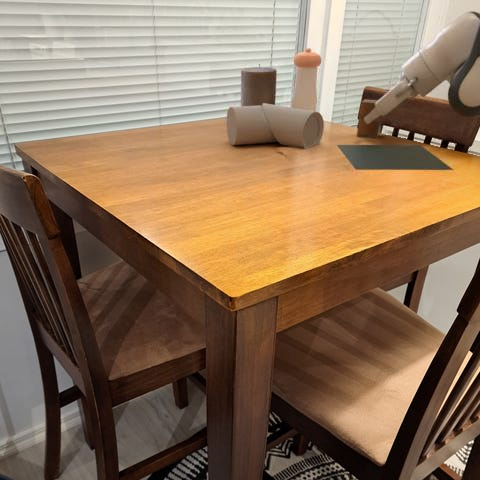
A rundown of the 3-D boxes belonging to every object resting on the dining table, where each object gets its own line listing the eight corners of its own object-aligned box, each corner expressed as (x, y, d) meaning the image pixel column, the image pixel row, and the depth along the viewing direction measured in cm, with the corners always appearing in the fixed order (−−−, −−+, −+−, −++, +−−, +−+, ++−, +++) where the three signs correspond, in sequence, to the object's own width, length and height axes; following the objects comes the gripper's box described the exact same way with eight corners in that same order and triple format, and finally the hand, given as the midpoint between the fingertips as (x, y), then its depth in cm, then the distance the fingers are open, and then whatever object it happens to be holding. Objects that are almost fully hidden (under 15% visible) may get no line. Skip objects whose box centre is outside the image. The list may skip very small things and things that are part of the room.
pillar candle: (280, 122, 141) (283, 63, 133) (263, 128, 134) (265, 66, 126) (251, 118, 145) (252, 61, 137) (233, 124, 138) (233, 64, 130)
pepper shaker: (304, 124, 139) (310, 46, 129) (321, 129, 134) (329, 48, 123) (283, 127, 136) (288, 47, 125) (300, 132, 131) (306, 50, 120)
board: (419, 149, 117) (420, 145, 117) (452, 174, 100) (454, 169, 100) (336, 149, 117) (336, 144, 116) (355, 174, 100) (355, 169, 99)
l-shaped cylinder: (298, 128, 128) (224, 133, 123) (304, 86, 121) (226, 89, 116) (326, 161, 117) (245, 168, 112) (335, 117, 109) (249, 121, 104)
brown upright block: (379, 139, 125) (385, 100, 120) (376, 142, 122) (382, 103, 117) (359, 137, 127) (364, 99, 122) (356, 140, 124) (361, 101, 119)
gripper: (422, 93, 106) (369, 136, 114) (431, 81, 121) (384, 120, 130) (404, 69, 105) (352, 114, 113) (416, 60, 120) (369, 100, 129)
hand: (369, 117), depth 122 cm, fingers open, 8 cm apart
